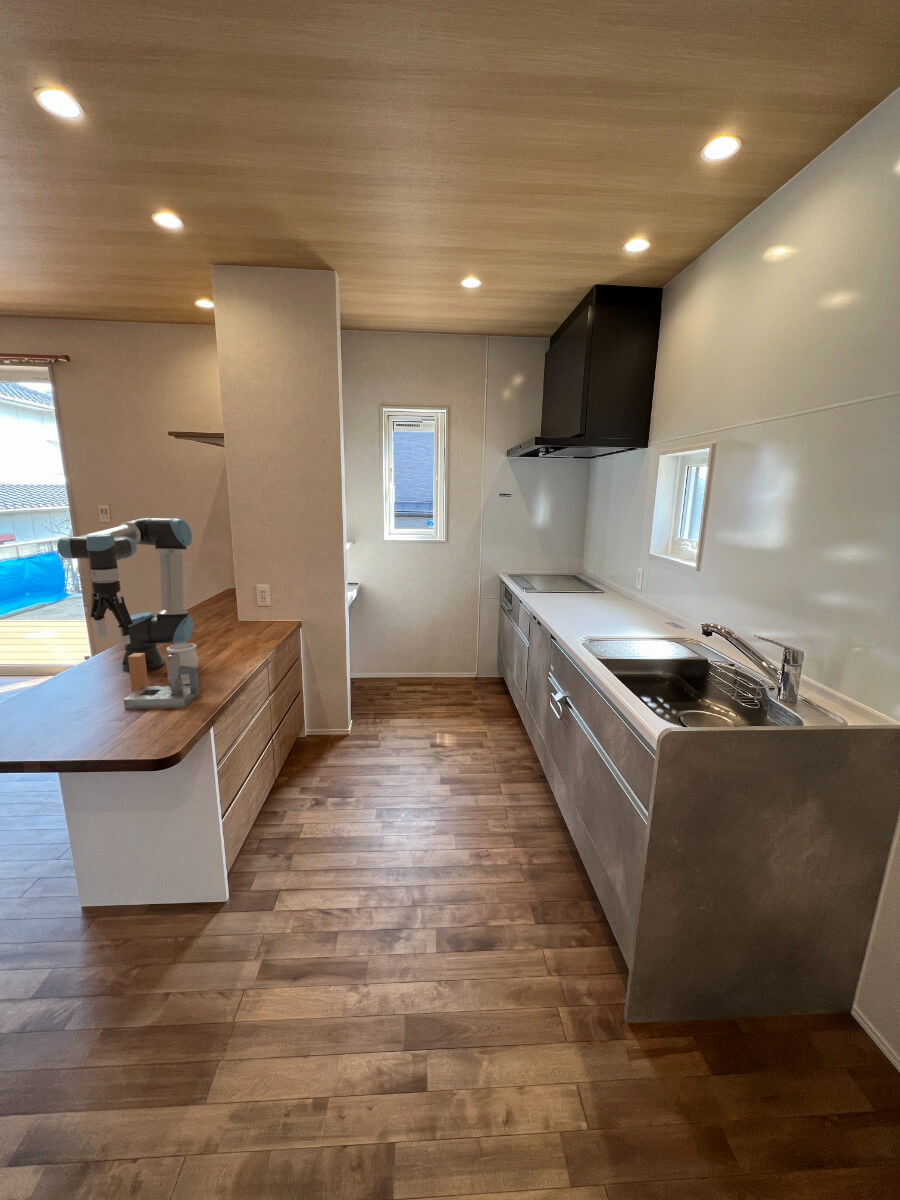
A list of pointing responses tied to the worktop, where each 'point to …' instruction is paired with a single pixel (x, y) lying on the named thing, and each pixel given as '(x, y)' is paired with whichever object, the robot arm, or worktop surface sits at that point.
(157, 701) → the plate with square hole
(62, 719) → the worktop surface
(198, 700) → the worktop surface
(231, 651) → the worktop surface
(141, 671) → the orange square bar
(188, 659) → the jar
